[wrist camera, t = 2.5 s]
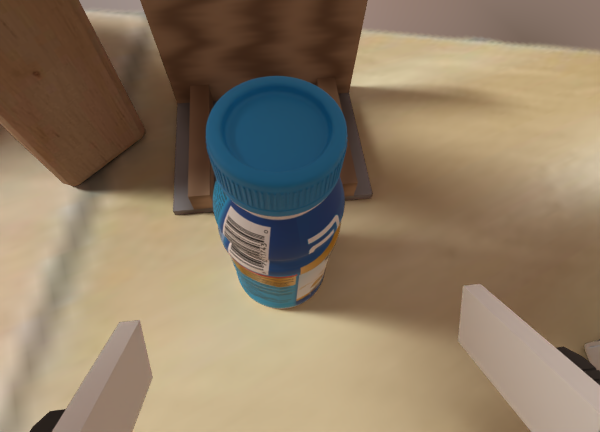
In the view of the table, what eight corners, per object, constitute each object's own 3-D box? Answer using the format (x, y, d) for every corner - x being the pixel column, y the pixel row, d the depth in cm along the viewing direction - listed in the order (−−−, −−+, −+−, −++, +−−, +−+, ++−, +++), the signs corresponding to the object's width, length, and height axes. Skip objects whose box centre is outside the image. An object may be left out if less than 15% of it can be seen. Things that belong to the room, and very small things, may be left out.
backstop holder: (175, 214, 37) (105, 96, 23) (179, 95, 44) (128, -53, 30) (370, 197, 39) (421, 77, 24) (344, 85, 46) (371, -59, 31)
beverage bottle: (226, 240, 36) (167, 80, 18) (307, 216, 37) (328, 45, 19) (250, 325, 32) (208, 230, 14) (339, 293, 34) (400, 173, 16)
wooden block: (74, 193, 38) (-117, 5, 20) (18, 141, 40) (-195, -66, 22) (151, 135, 41) (49, -69, 23) (95, 91, 44) (-35, -123, 26)
